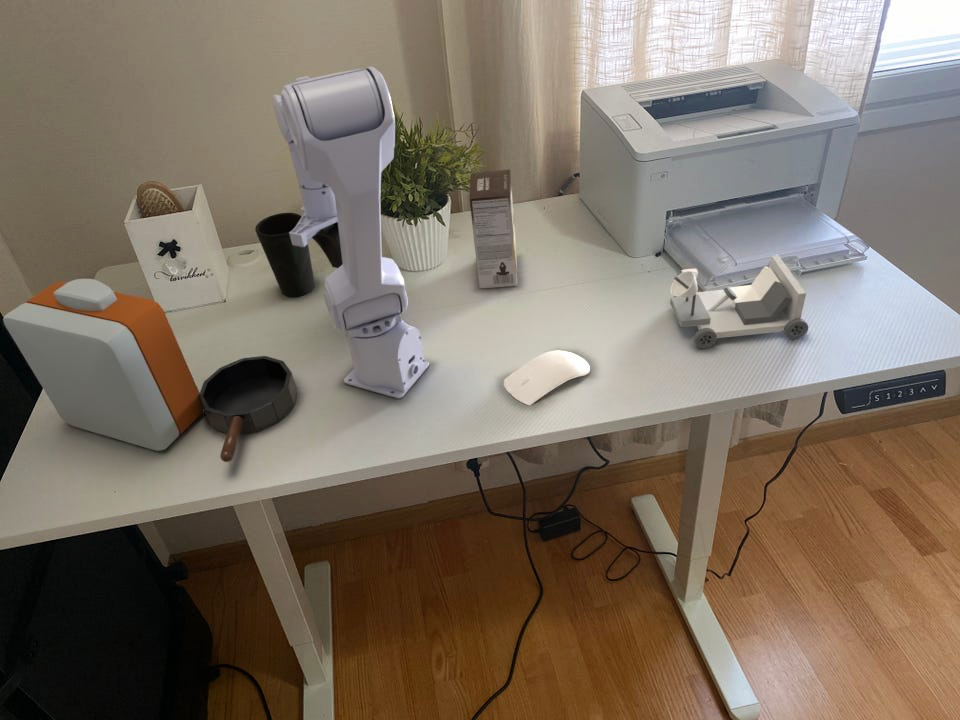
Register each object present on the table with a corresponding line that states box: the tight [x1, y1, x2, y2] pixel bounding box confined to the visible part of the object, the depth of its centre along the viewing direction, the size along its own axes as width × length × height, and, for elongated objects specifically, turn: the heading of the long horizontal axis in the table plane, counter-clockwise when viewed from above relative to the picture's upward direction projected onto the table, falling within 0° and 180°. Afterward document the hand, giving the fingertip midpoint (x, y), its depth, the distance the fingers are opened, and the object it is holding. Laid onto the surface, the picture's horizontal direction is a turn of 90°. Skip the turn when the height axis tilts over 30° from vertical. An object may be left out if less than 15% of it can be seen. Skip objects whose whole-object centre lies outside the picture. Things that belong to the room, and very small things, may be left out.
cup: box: [254, 212, 316, 298], centre depth 119 cm, size 8×8×12 cm
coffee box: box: [469, 168, 518, 289], centre depth 116 cm, size 9×6×16 cm
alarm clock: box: [2, 278, 204, 452], centre depth 94 cm, size 18×9×21 cm, turn 67°
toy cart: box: [669, 254, 809, 349], centre depth 102 cm, size 18×10×12 cm
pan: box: [198, 355, 298, 463], centre depth 96 cm, size 19×12×4 cm, turn 3°
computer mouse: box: [502, 350, 591, 406], centre depth 98 cm, size 7×12×2 cm, turn 121°
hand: (340, 265), depth 109 cm, fingers closed
